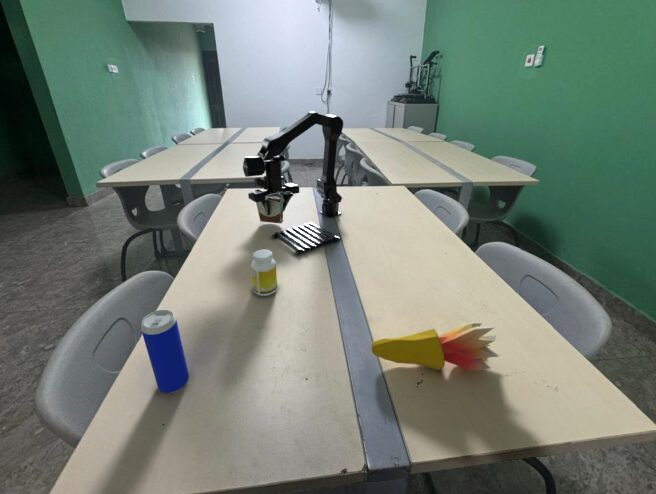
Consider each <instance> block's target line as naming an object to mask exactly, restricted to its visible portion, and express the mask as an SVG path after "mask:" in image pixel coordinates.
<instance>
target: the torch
mask: <svg viewBox="0 0 656 494" xmlns="http://www.w3.org/2000/svg"><path fill="white" fill-rule="evenodd" d="M482 325H483V322H482V323H480V322H479V323H478V322H477V323H476V321H470V322H465V323H463V324H461V325H458V326H457V327H455V328H453V329H451V330H449V331H448V332H445V333H443V334H441V335H438V332H437V331H436V329H435V328H431V329H427V330H425V331H424V330H423V331H421V332H417V333H413V334H408V335H403V336H398V337H393V338H391V337H390V338H389V337H388V338H381V339H378V340H374V341H373V342H371V346H370V348H371V352H372V354H373V355H374V356H375V357H378V358H380V359H383V360H385V361H389V362H393V363H397V364H407V365H408V364H409V365H418V366H422V367H424V366H425V367H426V368H430V369H432V370H437V371H440V370H441V369H443V368H444V367H445V364H446V362H447V363H449V364H452V365H454V366H457V367H459V368H461V369H462V370H463V371H465V372H472V371H480V370H481V371H482V370H490V369H491V368H492V367H490V365H488V364H487V363H486V362H488V359H489V358H497V357H501V355H500V354H498V353H497V352H496V351H495V350H493V349H491V348H489V347H491V345H490V344H491V343H494V342H495V341H496V337H497V335H487V336H486V334H488V333H489V332H491V331H493V329H495V328H496V327H493V326H482Z"/></svg>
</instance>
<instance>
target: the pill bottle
mask: <svg viewBox="0 0 656 494" xmlns="http://www.w3.org/2000/svg"><path fill="white" fill-rule="evenodd" d="M252 257H253V261H252V262H251V264H250V265H251V267H250V268H251V277H252V287H253V288H252V289H253V292H254V293H255V294H256V295H257V296H261V297H268V296H271V295H273V294H274V293H275V292H276V291H277V290H278V278H277V277H278V275H277V264H276V260H275V259H274V258H273V257H274V256H273V252H272V251H271V250H270V249H258V250H256V251H254V252H253V255H252Z"/></svg>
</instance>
